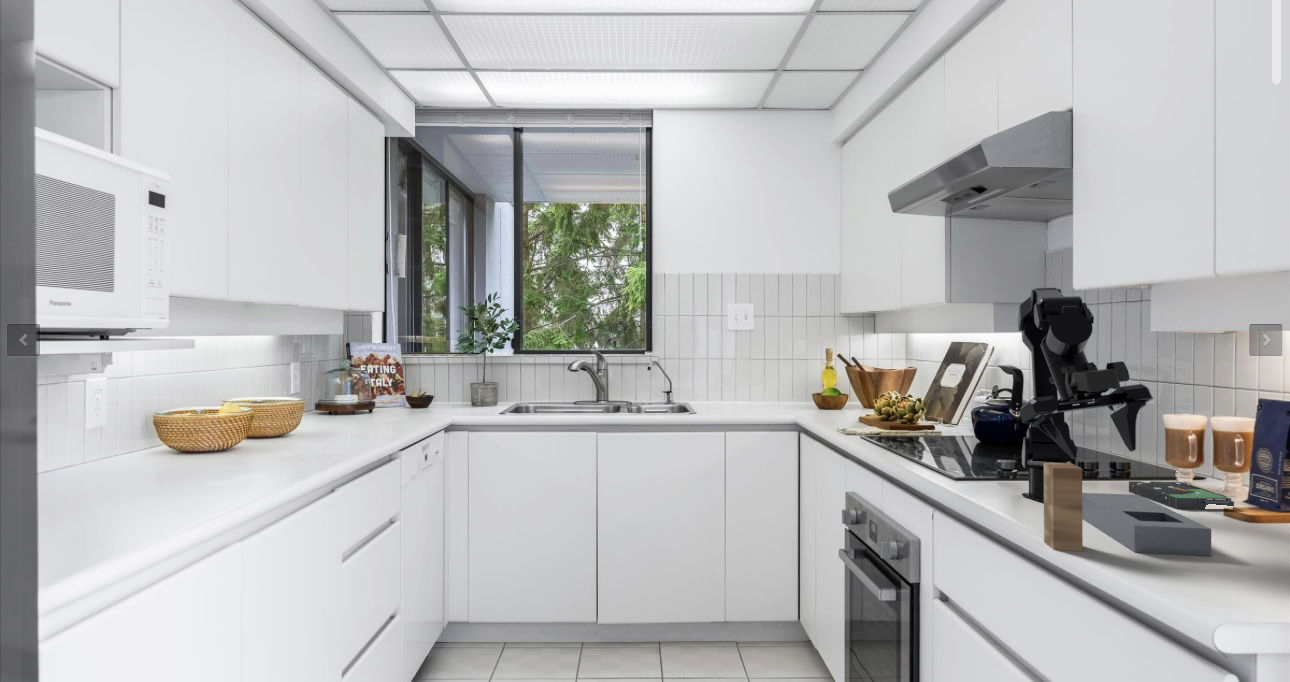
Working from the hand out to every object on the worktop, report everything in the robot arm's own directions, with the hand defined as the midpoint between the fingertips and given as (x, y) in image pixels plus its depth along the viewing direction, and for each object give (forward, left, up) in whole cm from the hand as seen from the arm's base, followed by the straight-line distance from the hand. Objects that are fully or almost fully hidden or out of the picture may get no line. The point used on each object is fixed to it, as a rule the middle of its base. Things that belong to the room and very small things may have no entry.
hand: (1103, 454), depth 111 cm
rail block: (-1, +7, -13) cm, 15 cm away
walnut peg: (+2, -10, -13) cm, 17 cm away
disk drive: (-19, +34, -14) cm, 42 cm away
